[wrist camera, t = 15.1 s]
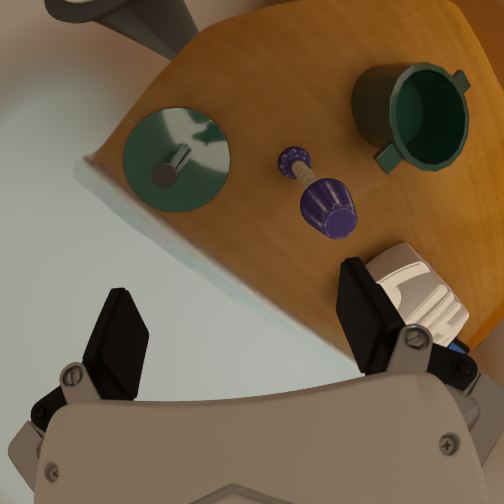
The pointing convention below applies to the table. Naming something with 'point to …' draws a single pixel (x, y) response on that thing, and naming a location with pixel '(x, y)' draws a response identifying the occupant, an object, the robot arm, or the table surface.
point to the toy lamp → (320, 196)
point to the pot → (412, 114)
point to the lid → (176, 159)
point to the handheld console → (458, 346)
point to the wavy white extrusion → (419, 292)
